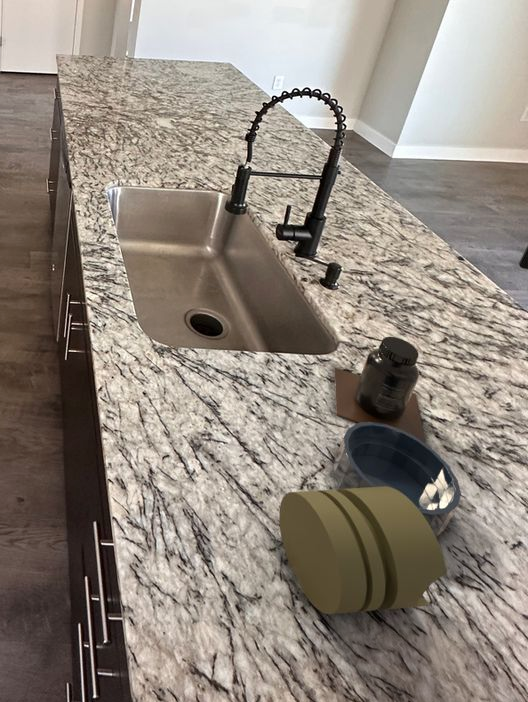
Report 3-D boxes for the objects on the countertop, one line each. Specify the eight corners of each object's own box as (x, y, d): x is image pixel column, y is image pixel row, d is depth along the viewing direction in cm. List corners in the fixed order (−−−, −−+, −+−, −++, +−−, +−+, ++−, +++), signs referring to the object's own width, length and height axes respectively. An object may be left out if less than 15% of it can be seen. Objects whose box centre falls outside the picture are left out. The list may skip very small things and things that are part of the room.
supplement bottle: (409, 409, 87) (435, 352, 82) (390, 429, 83) (416, 371, 78) (365, 380, 92) (387, 326, 87) (345, 398, 88) (367, 342, 83)
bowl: (435, 472, 77) (448, 446, 75) (455, 561, 66) (471, 533, 64) (332, 434, 83) (341, 408, 80) (334, 510, 72) (346, 483, 70)
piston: (425, 627, 60) (462, 567, 55) (323, 636, 59) (353, 575, 54) (358, 523, 70) (385, 465, 66) (271, 529, 69) (292, 470, 65)
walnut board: (414, 396, 90) (415, 394, 89) (425, 449, 81) (426, 446, 80) (333, 369, 95) (334, 367, 94) (335, 416, 86) (336, 413, 85)
